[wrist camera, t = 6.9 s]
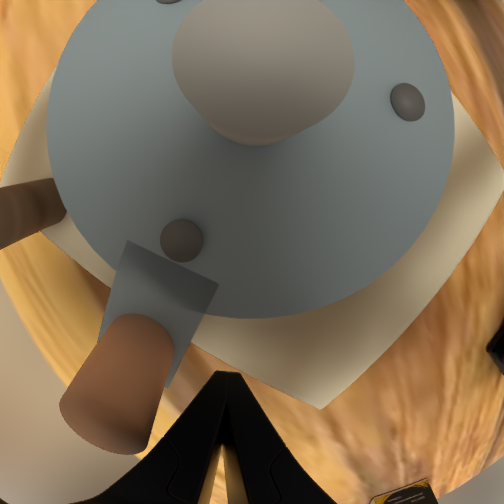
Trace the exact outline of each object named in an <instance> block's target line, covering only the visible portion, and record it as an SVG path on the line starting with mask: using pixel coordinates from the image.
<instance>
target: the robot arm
mask: <svg viewBox="0 0 504 504" xmlns="http://www.w3.org/2000/svg"><path fill="white" fill-rule="evenodd" d="M487 352H488V354H489V355H490V357H491V358H492V359H493V361H494V362H495V364H496V365H497V367H498V368H499V370H500V371H501V372H502V374H503V375H504V326H503V327H502V329H501V330H500V331H499V333H498V334H497V335H496V337H495V338H494V339H493V341H492V342H491V343H490V345H489V346H488V348H487ZM221 447H223V458H224V469H225V479H226V488H227V498H228V504H337V503H336V502H335V501H334V500H333V499H332V498H331V497H330V496H329V495H328V494H327V493H326V492H325V491H324V490H323V489H322V488H321V487H320V486H319V485H318V484H317V483H316V482H315V481H314V480H313V479H312V478H311V477H310V476H309V475H308V474H307V473H306V471H305V470H304V469H303V468H302V467H301V465H300V464H299V463H298V462H297V460H296V459H295V458H294V456H293V455H292V453H291V452H290V450H289V449H288V447H286V445H285V443H284V442H283V440H282V439H281V437H280V436H279V434H278V433H277V431H276V430H275V428H274V427H273V425H272V423H271V422H270V420H269V419H268V417H267V416H266V414H265V413H264V411H263V409H262V408H261V406H260V405H259V403H258V401H257V400H256V398H255V397H254V395H253V393H252V392H251V390H250V388H249V387H248V385H247V383H246V382H245V380H244V378H243V377H242V375H241V374H240V373H238V372H227V371H215V372H214V373H213V375H212V376H211V377H210V379H209V380H208V381H207V382H206V384H205V385H204V386H203V388H202V389H201V390H200V391H199V393H198V394H197V395H196V397H195V398H194V399H193V400H192V402H191V403H190V404H189V405H188V407H187V408H186V409H185V410H184V412H183V413H182V414H181V415H180V417H179V418H178V419H177V420H176V422H175V423H174V424H173V425H172V426H171V428H170V429H169V430H168V431H167V433H166V434H165V435H164V437H162V438H161V440H160V441H159V442H158V443H157V444H156V446H155V447H154V448H153V449H152V450H151V451H150V452H149V453H148V454H147V455H146V456H145V457H144V458H143V459H142V460H141V461H140V462H139V463H138V464H137V465H136V466H134V467H133V468H132V469H131V470H130V471H129V472H127V473H126V474H125V475H124V476H123V477H121V478H120V479H119V480H118V481H116V482H115V483H114V484H113V485H111V486H110V487H109V488H108V489H106V490H105V491H104V492H102V493H100V494H99V495H97V496H95V497H93V498H90V499H87V500H84V501H79V502H75V503H70V504H209V502H210V498H211V493H212V489H213V484H214V480H215V475H216V471H217V466H218V461H219V457H220V452H221ZM0 504H8V503H6V502H5V501H3V500H2V499H0Z"/></svg>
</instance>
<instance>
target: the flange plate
mask: <svg viewBox="0 0 504 504" xmlns="http://www.w3.org/2000/svg"><path fill="white" fill-rule="evenodd" d="M46 134H47V146H48V156H49V160H50V165H51V169H52V173H53V178H54V181H55V184H56V187H57V189H58V192H59V194H60V197H61V199H62V202H63V204H64V206H65V208H66V210H67V212H68V214H69V215H70V217H71V219H72V221H73V222H74V224H75V226H76V228H77V229H78V230H79V232H80V233H81V234H82V236H83V237H84V238H85V240H86V241H87V242H88V244H89V245H90V246H91V247H92V249H93V250H94V251H95V252H96V253H97V254H98V255H99V256H100V257H101V258H102V259H103V260H104V261H105V262H106V263H107V264H108V265H109V266H110V267H111V268H113V269H114V270H115V271H117V272H116V275H115V278H114V281H113V285H112V288H111V292H110V295H109V298H108V302H107V306H106V309H105V313H104V317H103V321H102V325H101V329H100V333H99V337H98V341H97V344H96V346H95V347H94V349H93V350H92V352H91V353H90V355H89V356H88V358H87V359H86V361H85V362H84V364H83V365H82V367H81V368H80V370H79V371H78V373H77V374H76V376H75V377H74V379H73V381H72V382H71V384H70V385H69V387H68V388H67V390H66V392H65V393H64V395H63V396H62V398H61V400H60V403H59V407H60V411H61V414H62V416H63V418H64V420H65V421H66V423H67V424H68V425H69V426H70V427H71V428H72V429H73V430H74V431H75V432H76V433H77V434H78V435H79V436H81V437H82V438H83V439H85V440H86V441H88V442H89V443H91V444H93V445H95V446H97V447H99V448H101V449H104V450H107V451H109V452H113V453H117V454H125V455H132V454H138V453H140V452H142V451H144V450H145V449H146V447H147V445H148V441H149V438H150V434H151V430H152V427H153V423H154V420H155V416H156V413H157V409H158V406H159V402H160V399H161V395H162V392H163V389H164V387H166V388H168V387H169V385H170V383H171V381H172V379H173V377H174V375H175V373H176V371H177V369H178V367H179V365H180V362H181V360H182V358H183V356H184V354H185V352H186V350H187V348H188V346H189V344H190V342H191V340H192V338H193V336H194V334H195V332H196V330H197V328H198V326H199V324H200V322H201V320H202V318H203V316H204V314H208V315H213V316H221V317H229V318H238V319H263V318H274V317H282V316H289V315H295V314H299V313H303V312H307V311H311V310H314V309H318V308H321V307H324V306H326V305H329V304H331V303H334V302H336V301H339V300H341V299H343V298H346V297H348V296H349V295H351V294H353V293H355V292H356V291H358V290H360V289H362V288H363V287H365V286H367V285H369V284H370V283H371V282H373V281H374V280H375V279H377V278H378V277H379V276H381V275H382V274H383V273H385V272H386V271H387V270H389V269H390V268H391V267H392V266H393V265H394V264H395V263H396V262H397V261H398V260H399V259H400V258H401V257H402V256H403V255H404V254H405V253H406V252H407V251H408V250H409V249H410V248H411V246H412V245H413V244H414V242H415V241H416V240H417V239H418V237H419V236H420V235H421V233H422V232H423V231H424V229H425V227H426V226H427V224H428V222H429V221H430V219H431V217H432V215H433V214H434V212H435V210H436V208H437V206H438V203H439V201H440V199H441V196H442V194H443V191H444V189H445V186H446V183H447V179H448V175H449V171H450V167H451V163H452V157H453V149H454V139H455V122H454V108H453V101H452V95H451V89H450V85H449V82H448V78H447V75H446V72H445V69H444V65H443V63H442V61H441V58H440V56H439V54H438V52H437V49H436V47H435V45H434V43H433V41H432V39H431V38H430V36H429V34H428V33H427V31H426V30H425V28H424V26H423V25H422V23H421V22H420V20H419V19H418V18H417V17H416V15H415V14H414V13H413V11H412V10H411V9H410V8H409V7H408V5H407V4H406V3H405V2H404V1H403V0H98V1H97V2H96V3H95V4H94V5H93V6H92V7H91V8H90V9H89V11H88V12H87V13H86V14H85V16H84V17H83V19H82V20H81V21H80V23H79V24H78V26H77V27H76V29H75V30H74V32H73V33H72V35H71V37H70V39H69V41H68V43H67V45H66V47H65V49H64V51H63V53H62V55H61V57H60V60H59V63H58V65H57V68H56V71H55V74H54V77H53V80H52V85H51V90H50V95H49V100H48V107H47V124H46Z"/></svg>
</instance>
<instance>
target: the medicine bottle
mask: <svg viewBox="0 0 504 504" xmlns="http://www.w3.org/2000/svg"><path fill="white" fill-rule="evenodd" d="M370 504H438V502H437V500H436V497H435V495H434V493H433V491H432V489H431V487H430V484H429V482H428V480H427V479H423V480H421V481H418V482H416V483H414V484H411V485H408V486H406V487H403V488H400V489H398V490H395V491H392V492H389V493H386V494H383V495H380V496H376V497H374V498H373V500H372V501H371V503H370Z"/></svg>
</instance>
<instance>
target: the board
mask: <svg viewBox="0 0 504 504" xmlns="http://www.w3.org/2000/svg"><path fill="white" fill-rule="evenodd" d="M56 68H57V66H56ZM56 68H55V69H54V71H53V72H52V74H51V76H50V77H49V79H48V80H47V82H46V84H45V86H44V87H43V89H42V91H41V92H40V94H39V96H38V98H37V100H36V102H35V103H34V105H33V107H32V109H31V111H30V113H29V115H28V117H27V119H26V121H25V123H24V125H23V127H22V130H21V132H20V134H19V136H18V138H17V141H16V143H15V145H14V148H13V150H12V153H11V155H10V158H9V160H8V163H7V165H6V168H5V171H4V174H3V177H2V179H1V182H0V250H1V249H3V248H5V247H7V246H9V245H11V244H13V243H15V242H17V241H19V240H21V239H23V238H25V237H28V236H30V235H32V234H34V233H36V232H39V231H41V232H42V233H43V234H44V235H45V236H46V237H47V238H48V239H50V240H51V241H52V242H53V243H54V244H55V245H57V246H58V247H59V248H60V249H61V250H62V251H64V252H65V253H66V254H67V255H68V256H70V257H71V258H72V259H73V260H75V261H76V262H77V263H78V264H79V265H81V266H82V267H83V268H84V269H86V270H87V271H88V272H90V273H91V274H92V275H93V276H95V277H96V278H97V279H99V280H100V281H101V282H103V283H104V284H105V285H107V286H108V287H109V288H112V285H113V281H114V278H115V275H116V272H117V271H115V270H114V269H113V268H111V267H110V266H109V265H108V264H107V263H106V262H105V261H104V260H103V259H102V258H101V257H100V256H99V255H98V254H97V253H96V252H95V251H94V250H93V249H92V247H91V246H90V245H89V244H88V242H87V241H86V240H85V238H84V237H83V236H82V234H81V233H80V232H79V230H78V229H77V228H76V226H75V224H74V222H73V221H72V219H71V217H70V215H69V214H68V212H67V210H66V208H65V206H64V204H63V202H62V199H61V197H60V194H59V192H58V189H57V187H56V184H55V181H54V178H53V173H52V169H51V165H50V160H49V156H48V146H47V134H46V124H47V107H48V100H49V95H50V90H51V85H52V80H53V77H54V74H55V71H56ZM451 95H452V101H453V108H454V122H455V139H454V149H453V157H452V163H451V167H450V171H449V175H448V179H447V183H446V186H445V189H444V191H443V194H442V196H441V199H440V201H439V203H438V206H437V208H436V210H435V212H434V214H433V215H432V217H431V219H430V221H429V222H428V224H427V226H426V227H425V229H424V231H423V232H422V233H421V235H420V236H419V237H418V239H417V240H416V241H415V242H414V244H413V245H412V246H411V248H410V249H409V250H408V251H407V252H406V253H405V254H404V255H403V256H402V257H401V258H400V259H399V260H398V261H397V262H396V263H395V264H394V265H393V266H392V267H391V268H390V269H389V270H387V271H386V272H385V273H383V274H382V275H381V276H379V277H378V278H377V279H375V280H374V281H373V282H371V283H370V284H369V285H367V286H365V287H363V288H362V289H360V290H358V291H356V292H355V293H353V294H351V295H349V296H348V297H346V298H343V299H341V300H339V301H336V302H334V303H331V304H329V305H326V306H324V307H321V308H318V309H314V310H311V311H307V312H303V313H299V314H295V315H289V316H282V317H274V318H263V319H238V318H229V317H221V316H213V315H208V314H204V316H203V318H202V320H201V322H200V324H199V326H198V328H197V330H196V332H195V334H194V336H193V338H192V340H191V343H193V344H194V345H196V346H198V347H199V348H201V349H203V350H204V351H206V352H208V353H210V354H211V355H213V356H215V357H217V358H218V359H220V360H222V361H224V362H225V363H227V364H229V365H231V366H233V367H234V368H236V369H238V370H240V371H242V372H244V373H245V374H247V375H249V376H251V377H253V378H255V379H257V380H259V381H261V382H263V383H265V384H267V385H269V386H271V387H273V388H275V389H277V390H279V391H281V392H283V393H285V394H287V395H289V396H291V397H293V398H296V399H298V400H300V401H302V402H304V403H307V404H309V405H311V406H313V407H316V408H318V409H320V410H321V409H323V408H324V407H325V406H326V405H327V404H329V403H330V402H331V401H332V400H333V399H335V398H336V397H337V396H338V395H339V394H340V393H342V392H343V391H344V390H345V389H346V388H347V387H348V386H350V385H351V384H352V383H353V382H354V381H355V380H356V379H357V378H358V377H359V376H361V375H362V374H363V373H364V372H365V371H366V370H367V369H368V368H369V367H370V366H371V365H372V364H373V363H374V362H375V361H376V360H377V359H378V358H379V357H380V356H381V355H382V354H383V353H384V352H385V351H386V350H387V349H388V348H389V347H390V346H391V345H392V344H393V343H394V342H395V341H396V340H397V339H398V338H399V336H400V335H401V334H402V333H403V332H404V331H405V330H406V329H407V328H408V327H409V325H410V324H411V323H412V322H413V321H414V320H415V319H416V317H417V316H418V315H419V314H420V313H421V312H422V310H423V309H424V308H425V307H426V306H427V304H428V303H429V302H430V301H431V300H432V298H433V297H434V296H435V295H436V293H437V292H438V291H439V290H440V288H441V287H442V286H443V284H444V283H445V282H446V280H447V279H448V278H449V276H450V275H451V274H452V272H453V271H454V270H455V268H456V267H457V265H458V264H459V263H460V261H461V260H462V258H463V257H464V255H465V254H466V252H467V251H468V249H469V248H470V246H471V245H472V243H473V242H474V240H475V239H476V237H477V236H478V234H479V233H480V231H481V229H482V228H483V226H484V224H485V223H486V221H487V219H488V218H489V216H490V214H491V213H492V211H493V209H494V207H495V205H496V204H497V202H498V200H499V198H500V196H501V194H502V193H503V191H504V170H503V168H502V166H501V164H500V162H499V161H498V159H497V157H496V155H495V154H494V152H493V150H492V149H491V147H490V146H489V144H488V142H487V141H486V139H485V138H484V136H483V134H482V133H481V131H480V130H479V128H478V127H477V125H476V124H475V123H474V121H473V120H472V118H471V117H470V115H469V114H468V113H467V111H466V110H465V109H464V107H463V106H462V105H461V103H460V102H459V101H458V99H457V98H456V97H455V96H454V94H453V93H452V92H451Z"/></svg>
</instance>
